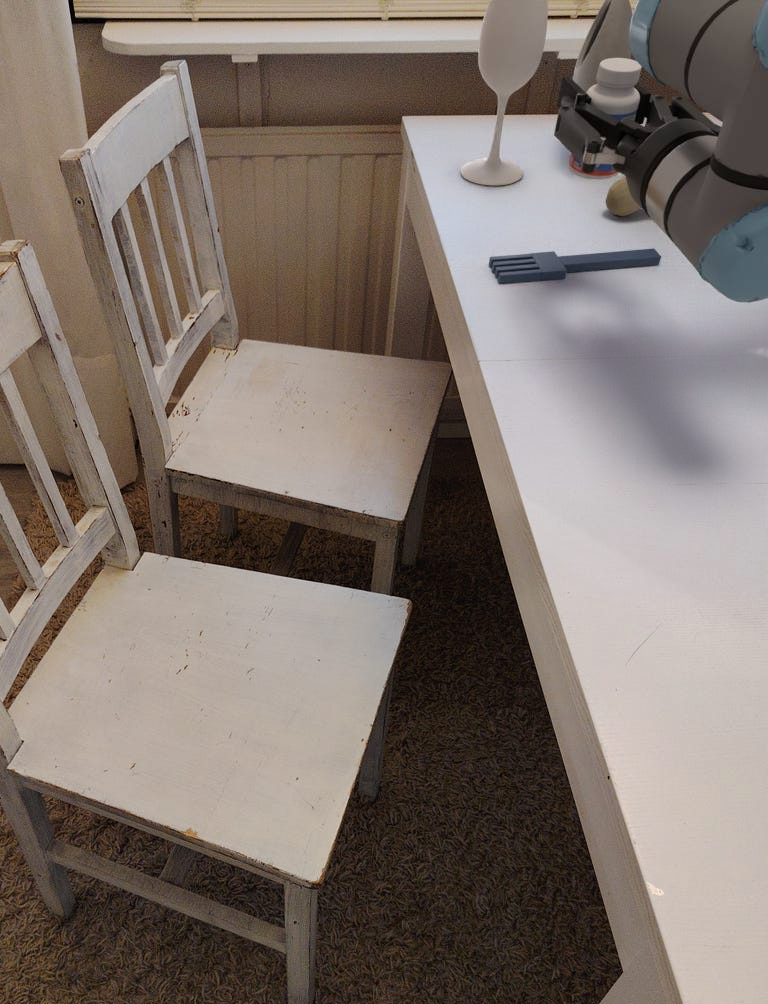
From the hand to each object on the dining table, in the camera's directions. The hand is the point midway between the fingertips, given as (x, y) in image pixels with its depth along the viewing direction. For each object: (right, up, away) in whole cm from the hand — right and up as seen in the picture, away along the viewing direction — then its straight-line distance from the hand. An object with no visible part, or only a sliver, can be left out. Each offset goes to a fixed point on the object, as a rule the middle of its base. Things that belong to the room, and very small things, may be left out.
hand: (591, 89), depth 86 cm
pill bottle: (+1, -8, +2) cm, 8 cm away
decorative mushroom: (+16, -2, +21) cm, 27 cm away
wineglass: (-3, +8, +30) cm, 31 cm away
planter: (+11, +13, +34) cm, 38 cm away
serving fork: (+3, -13, +12) cm, 18 cm away
